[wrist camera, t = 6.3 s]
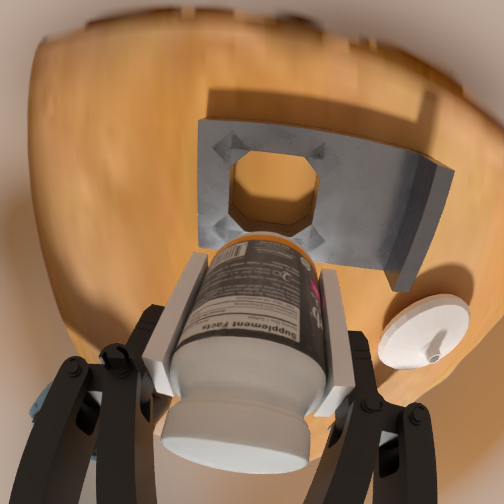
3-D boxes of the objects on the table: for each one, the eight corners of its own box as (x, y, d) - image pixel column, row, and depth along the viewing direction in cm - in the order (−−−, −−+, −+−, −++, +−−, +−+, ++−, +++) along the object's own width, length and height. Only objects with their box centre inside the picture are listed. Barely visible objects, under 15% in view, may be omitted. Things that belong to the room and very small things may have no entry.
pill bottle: (310, 311, 16) (311, 477, 8) (217, 307, 17) (172, 462, 8) (321, 227, 13) (350, 441, 5) (205, 224, 14) (112, 410, 5)
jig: (204, 235, 30) (188, 266, 25) (206, 117, 23) (184, 124, 18) (392, 259, 29) (408, 292, 24) (424, 153, 22) (454, 170, 17)
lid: (469, 270, 28) (492, 303, 23) (454, 338, 36) (467, 369, 30) (371, 300, 33) (382, 341, 27) (375, 363, 40) (381, 397, 34)
